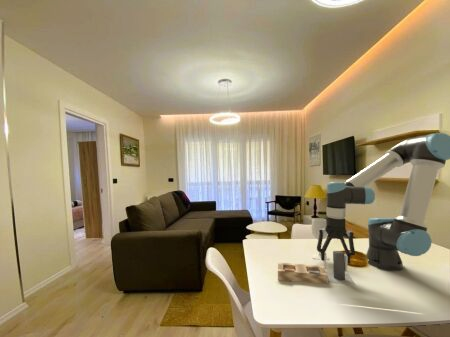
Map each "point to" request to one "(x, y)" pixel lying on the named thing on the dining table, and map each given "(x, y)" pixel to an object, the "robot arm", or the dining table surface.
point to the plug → (339, 265)
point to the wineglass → (316, 225)
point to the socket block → (302, 273)
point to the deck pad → (347, 280)
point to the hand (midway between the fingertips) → (335, 269)
